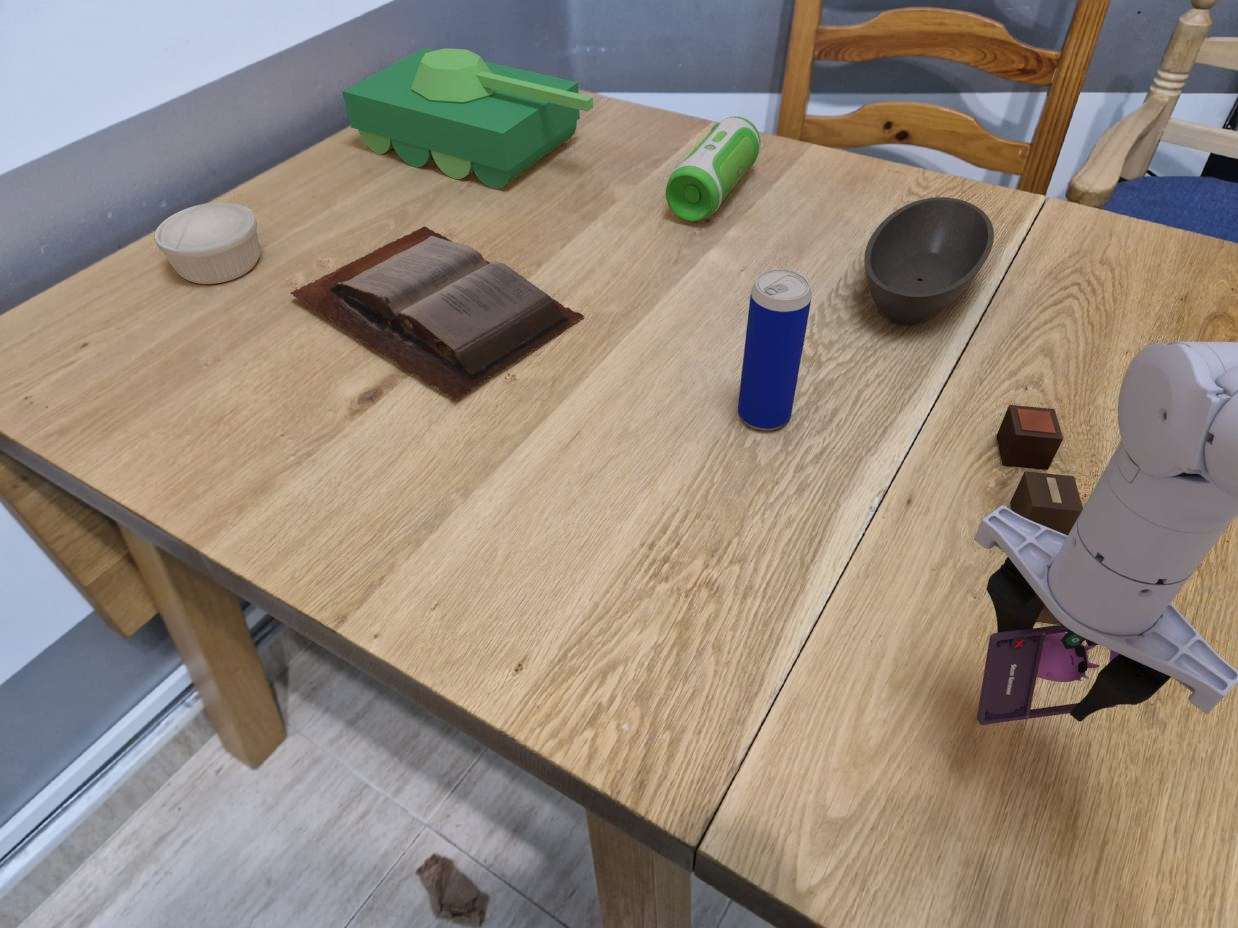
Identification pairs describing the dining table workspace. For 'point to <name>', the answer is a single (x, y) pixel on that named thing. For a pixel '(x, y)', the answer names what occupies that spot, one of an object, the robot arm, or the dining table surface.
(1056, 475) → the brown box
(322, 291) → the book
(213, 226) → the ramekin
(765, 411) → the beverage can
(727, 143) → the speaker
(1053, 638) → the game card
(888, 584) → the dining table surface
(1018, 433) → the brown box
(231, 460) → the dining table surface
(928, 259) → the bowl
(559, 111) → the toy tank
